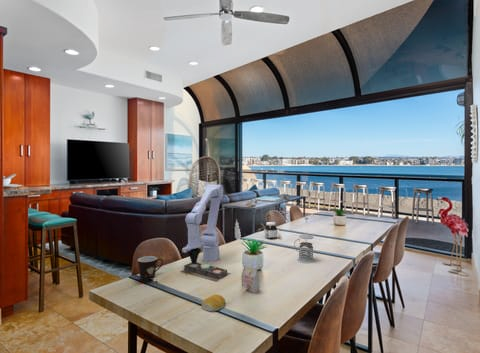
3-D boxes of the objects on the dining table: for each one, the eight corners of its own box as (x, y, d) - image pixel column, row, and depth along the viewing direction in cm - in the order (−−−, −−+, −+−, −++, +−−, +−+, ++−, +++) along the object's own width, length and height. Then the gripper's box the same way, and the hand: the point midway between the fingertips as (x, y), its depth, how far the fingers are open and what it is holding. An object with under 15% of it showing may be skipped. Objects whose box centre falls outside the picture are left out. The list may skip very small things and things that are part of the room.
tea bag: (247, 286, 130) (247, 264, 129) (259, 290, 125) (259, 268, 125) (242, 289, 127) (241, 266, 126) (254, 293, 123) (254, 270, 122)
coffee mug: (137, 284, 132) (137, 262, 132) (138, 277, 141) (138, 257, 140) (163, 281, 136) (163, 260, 135) (163, 275, 144) (163, 255, 143)
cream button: (193, 267, 150) (193, 263, 150) (200, 268, 148) (200, 265, 148) (187, 269, 146) (187, 265, 146) (194, 271, 144) (194, 267, 144)
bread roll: (229, 304, 113) (229, 294, 113) (214, 314, 106) (214, 303, 106) (213, 299, 118) (213, 289, 118) (197, 307, 111) (197, 297, 110)
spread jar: (263, 237, 221) (263, 222, 220) (275, 235, 226) (275, 220, 225) (271, 240, 210) (271, 224, 210) (284, 239, 215) (284, 223, 214)
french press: (315, 263, 160) (315, 218, 159) (294, 262, 162) (294, 218, 161) (314, 258, 169) (314, 216, 169) (294, 257, 172) (294, 215, 171)
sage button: (204, 267, 146) (204, 263, 146) (211, 268, 143) (211, 264, 143) (198, 269, 142) (198, 265, 142) (205, 271, 140) (205, 267, 140)
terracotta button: (216, 273, 142) (216, 269, 142) (223, 275, 139) (223, 270, 139) (210, 275, 138) (210, 271, 138) (218, 277, 136) (218, 273, 136)
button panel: (196, 267, 154) (195, 260, 154) (231, 276, 142) (231, 268, 141) (179, 274, 144) (179, 266, 144) (216, 284, 132) (216, 276, 131)
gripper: (197, 232, 155) (197, 257, 155) (177, 238, 143) (177, 265, 143) (207, 234, 151) (207, 260, 151) (188, 240, 139) (188, 268, 139)
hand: (193, 263), depth 147 cm, fingers closed
